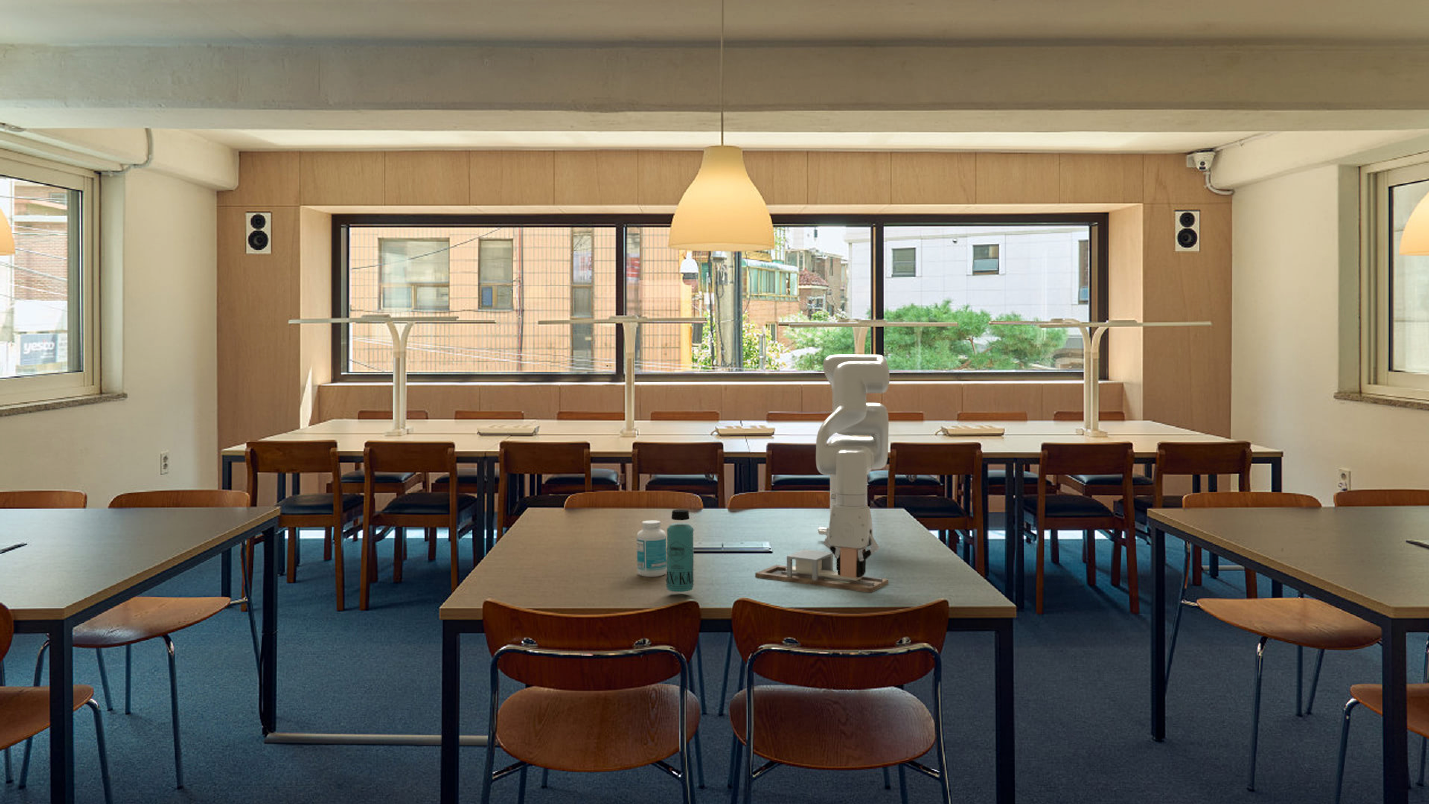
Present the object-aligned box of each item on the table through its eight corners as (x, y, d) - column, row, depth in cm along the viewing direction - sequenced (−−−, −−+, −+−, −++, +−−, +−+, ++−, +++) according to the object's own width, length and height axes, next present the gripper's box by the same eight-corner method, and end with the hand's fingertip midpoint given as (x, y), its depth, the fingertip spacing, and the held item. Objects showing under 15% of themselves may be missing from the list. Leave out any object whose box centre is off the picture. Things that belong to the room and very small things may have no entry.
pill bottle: (670, 572, 252) (670, 520, 251) (659, 578, 245) (659, 524, 244) (643, 570, 254) (643, 518, 253) (632, 576, 247) (632, 523, 246)
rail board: (755, 577, 246) (755, 570, 246) (776, 568, 255) (776, 562, 255) (870, 592, 230) (870, 586, 230) (888, 583, 239) (888, 576, 239)
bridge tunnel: (786, 576, 242) (786, 556, 242) (804, 569, 250) (804, 549, 250) (816, 580, 238) (816, 559, 238) (832, 572, 246) (832, 552, 246)
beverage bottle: (665, 592, 231) (665, 507, 230) (693, 591, 231) (693, 507, 230) (666, 598, 224) (666, 512, 223) (695, 598, 225) (695, 511, 224)
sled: (784, 572, 245) (784, 540, 245) (793, 568, 249) (793, 537, 249) (855, 581, 235) (855, 548, 235) (862, 577, 239) (862, 545, 239)
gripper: (813, 499, 239) (812, 574, 239) (878, 505, 230) (877, 582, 231) (826, 495, 245) (826, 568, 246) (889, 501, 236) (889, 576, 237)
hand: (850, 574), depth 238 cm, fingers closed on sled, 4 cm apart
